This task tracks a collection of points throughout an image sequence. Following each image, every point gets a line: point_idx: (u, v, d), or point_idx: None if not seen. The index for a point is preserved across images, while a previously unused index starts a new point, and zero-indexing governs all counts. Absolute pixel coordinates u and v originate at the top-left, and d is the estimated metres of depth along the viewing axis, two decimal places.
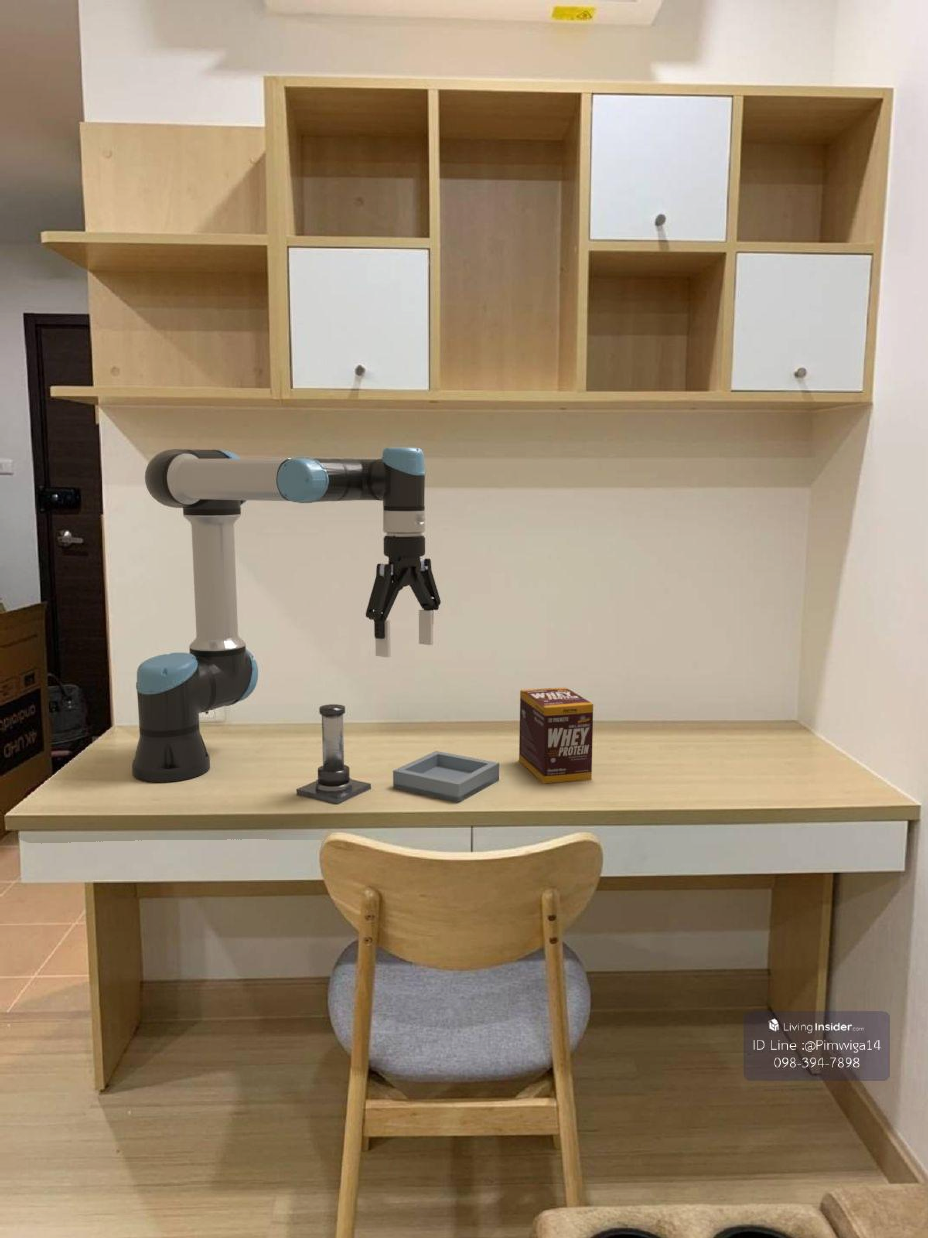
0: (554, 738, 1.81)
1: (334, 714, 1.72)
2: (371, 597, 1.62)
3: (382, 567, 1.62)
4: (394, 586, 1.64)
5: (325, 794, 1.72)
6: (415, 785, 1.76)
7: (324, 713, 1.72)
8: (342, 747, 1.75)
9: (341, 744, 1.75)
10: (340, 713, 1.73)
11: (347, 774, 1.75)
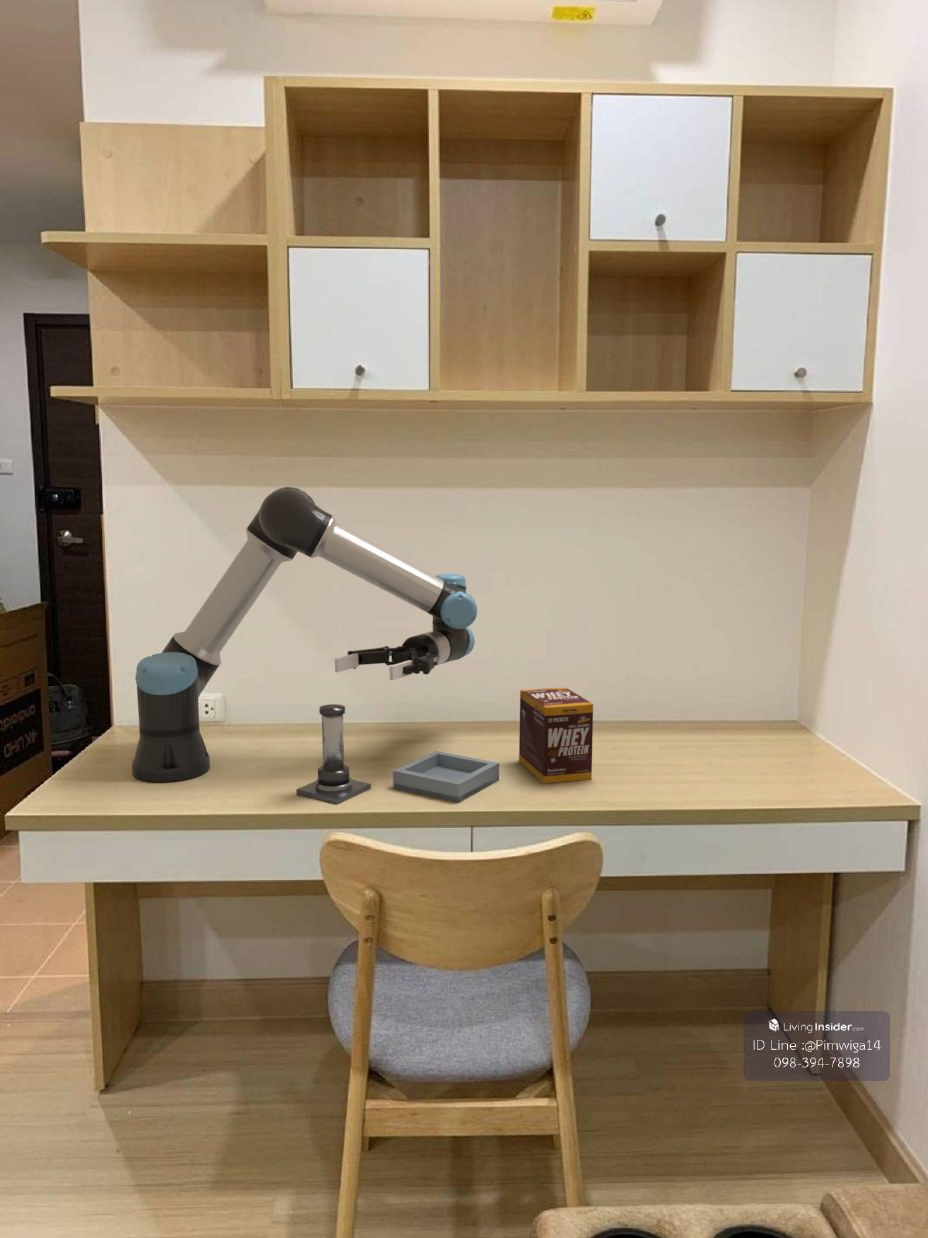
0: (554, 738, 1.81)
1: (334, 714, 1.72)
2: (430, 660, 1.86)
3: (437, 659, 1.91)
4: None
5: (325, 794, 1.72)
6: (415, 785, 1.76)
7: (324, 713, 1.72)
8: (342, 747, 1.75)
9: (341, 744, 1.75)
10: (340, 713, 1.73)
11: (347, 774, 1.75)
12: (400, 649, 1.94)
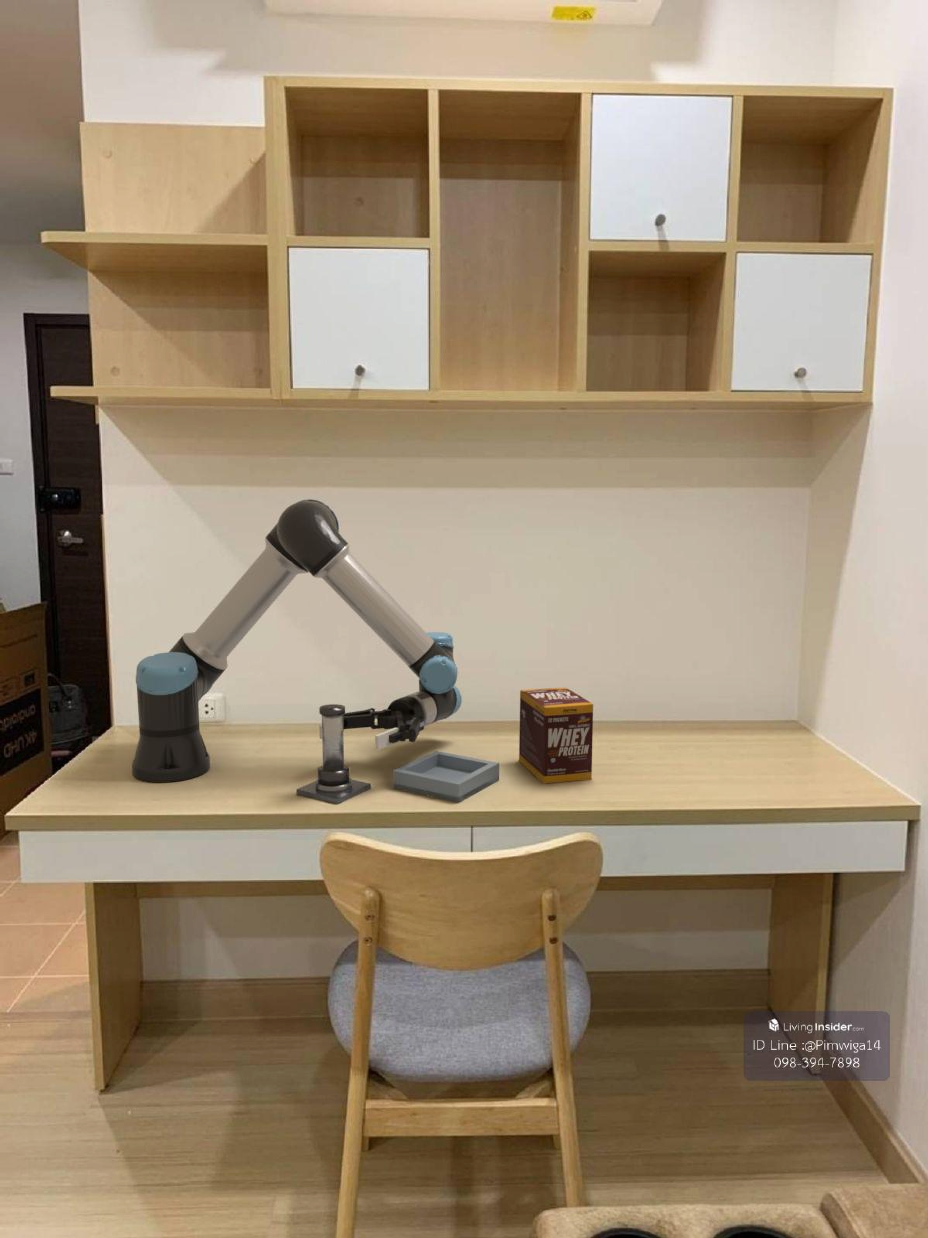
0: (554, 738, 1.81)
1: (334, 714, 1.72)
2: (417, 726, 1.83)
3: (423, 723, 1.88)
4: None
5: (325, 794, 1.72)
6: (415, 785, 1.76)
7: (324, 713, 1.72)
8: (342, 747, 1.75)
9: (341, 744, 1.75)
10: (340, 713, 1.73)
11: (347, 774, 1.75)
12: (386, 713, 1.91)
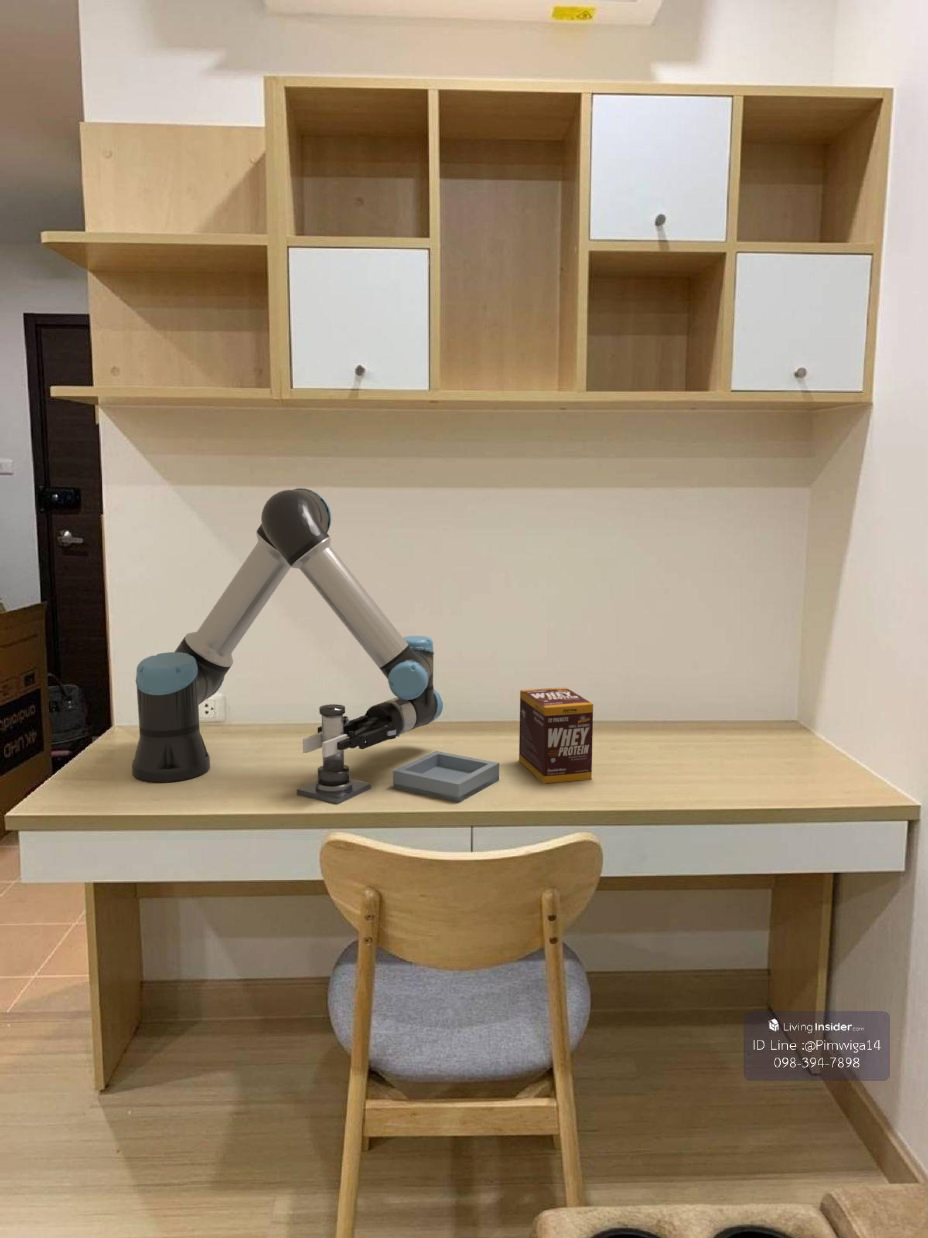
0: (554, 738, 1.81)
1: (334, 714, 1.72)
2: (374, 734, 1.77)
3: (394, 733, 1.81)
4: None
5: (325, 794, 1.72)
6: (415, 785, 1.76)
7: (324, 713, 1.72)
8: None
9: None
10: (340, 713, 1.73)
11: (347, 774, 1.75)
12: (365, 719, 1.85)
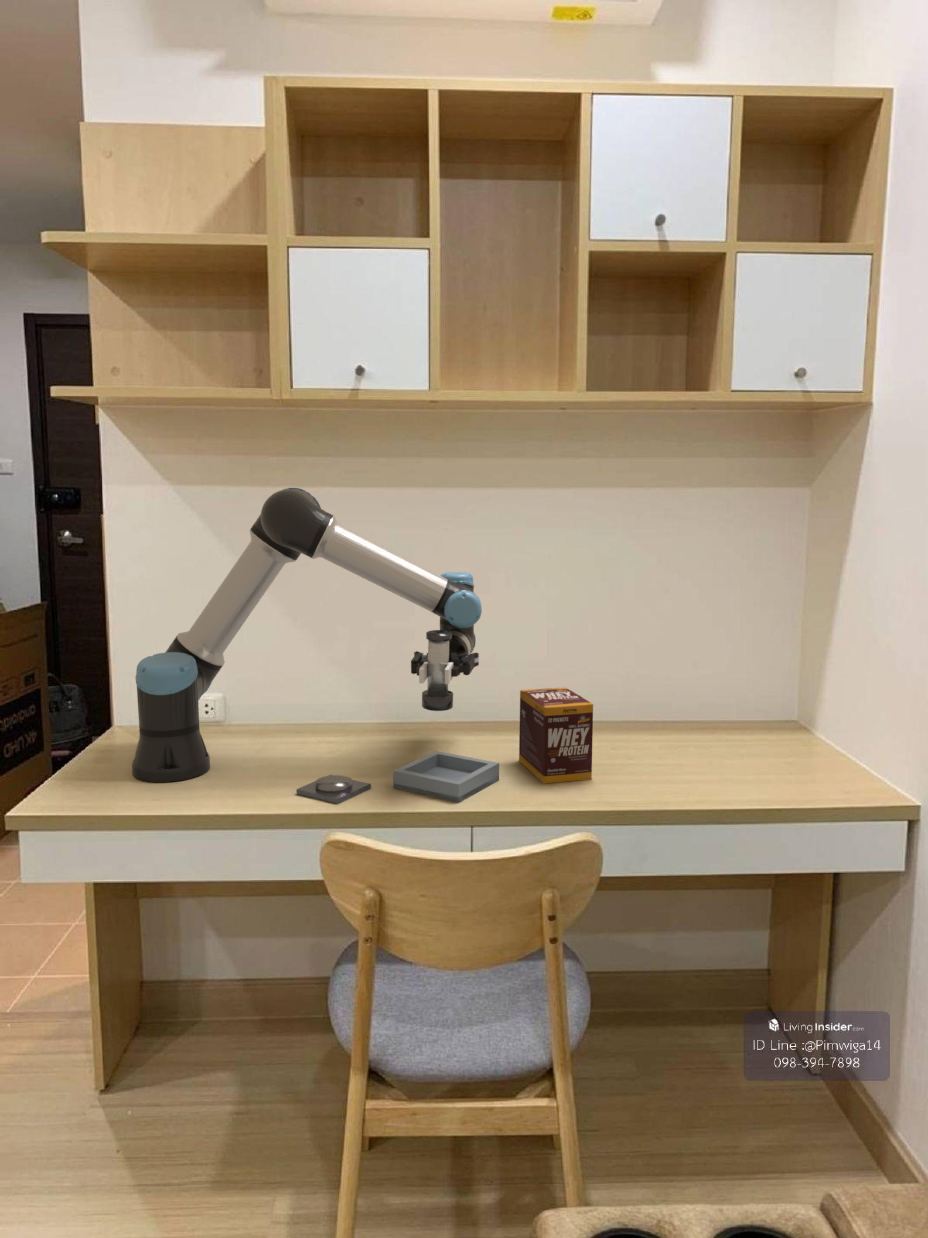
0: (554, 738, 1.81)
1: (444, 639, 1.74)
2: (471, 660, 1.82)
3: (478, 659, 1.87)
4: None
5: (325, 794, 1.72)
6: (415, 785, 1.76)
7: (434, 639, 1.73)
8: None
9: None
10: (449, 638, 1.74)
11: (452, 699, 1.78)
12: None
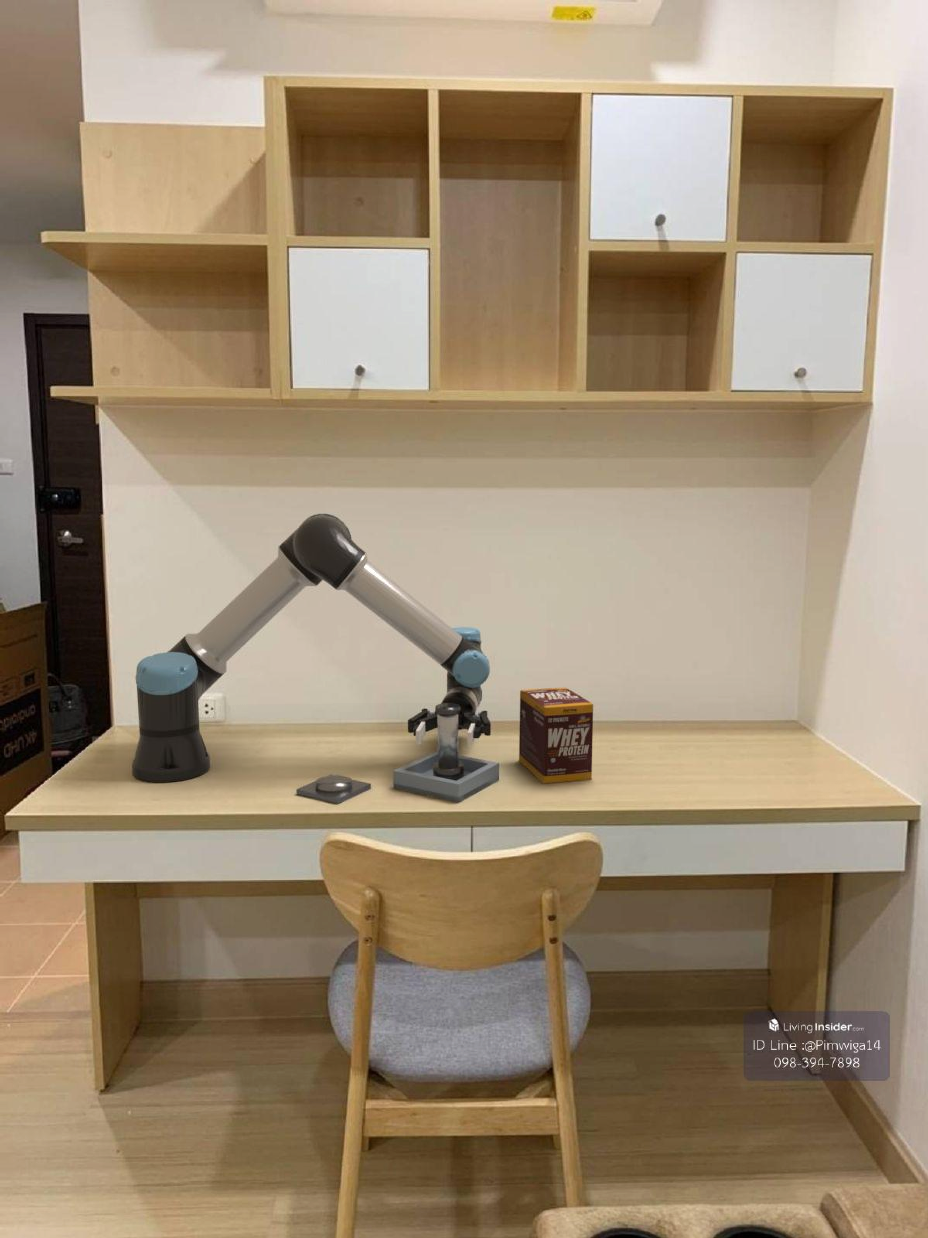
0: (554, 738, 1.81)
1: (453, 714, 1.76)
2: (488, 720, 1.85)
3: None
4: None
5: (325, 794, 1.72)
6: (415, 785, 1.76)
7: (443, 713, 1.76)
8: None
9: (457, 742, 1.79)
10: (457, 712, 1.77)
11: (463, 770, 1.81)
12: None
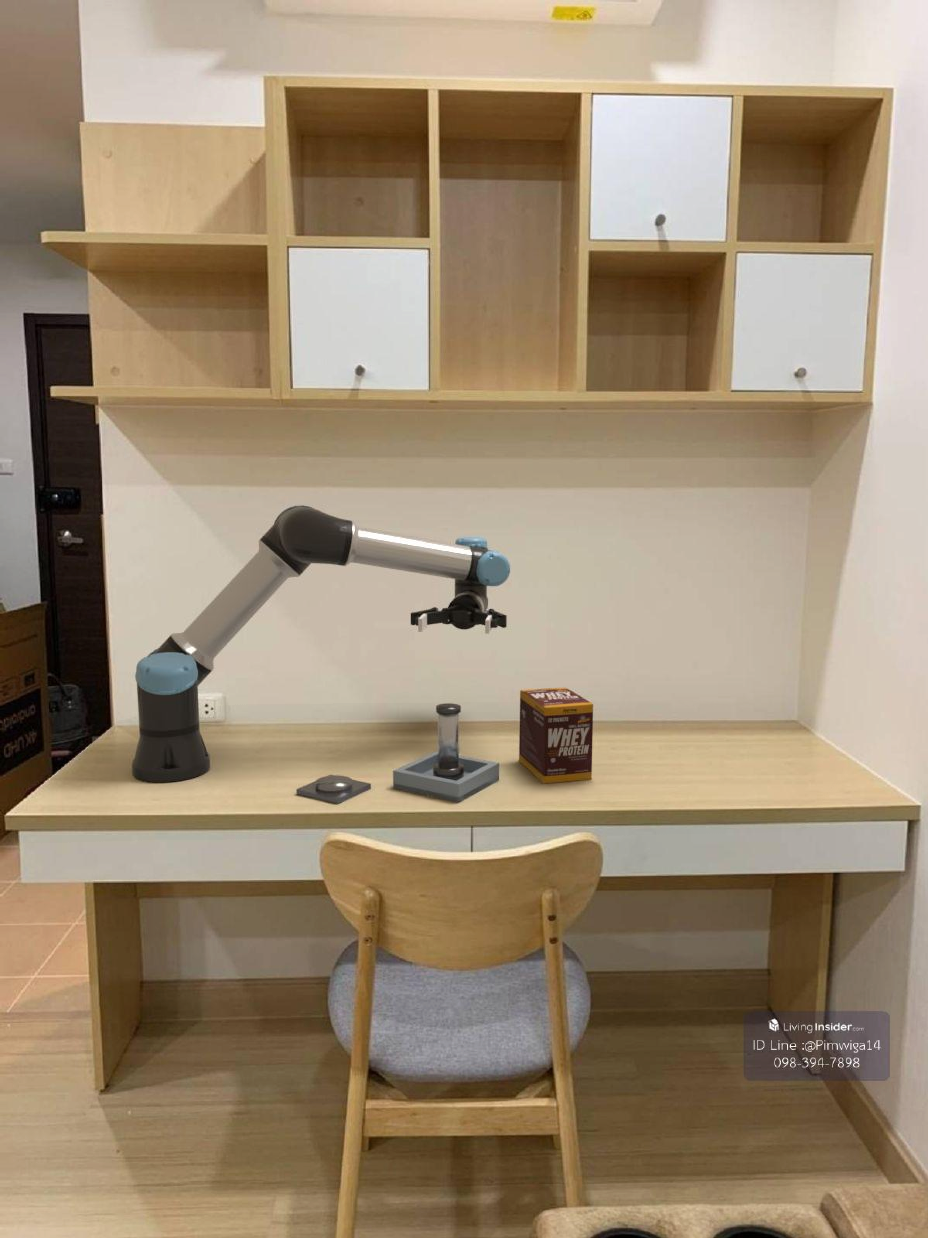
0: (554, 738, 1.81)
1: (453, 713, 1.77)
2: (501, 614, 1.96)
3: None
4: None
5: (325, 794, 1.72)
6: (415, 785, 1.76)
7: (443, 712, 1.77)
8: (458, 744, 1.80)
9: (457, 742, 1.80)
10: (458, 711, 1.78)
11: (463, 771, 1.81)
12: (456, 608, 2.00)
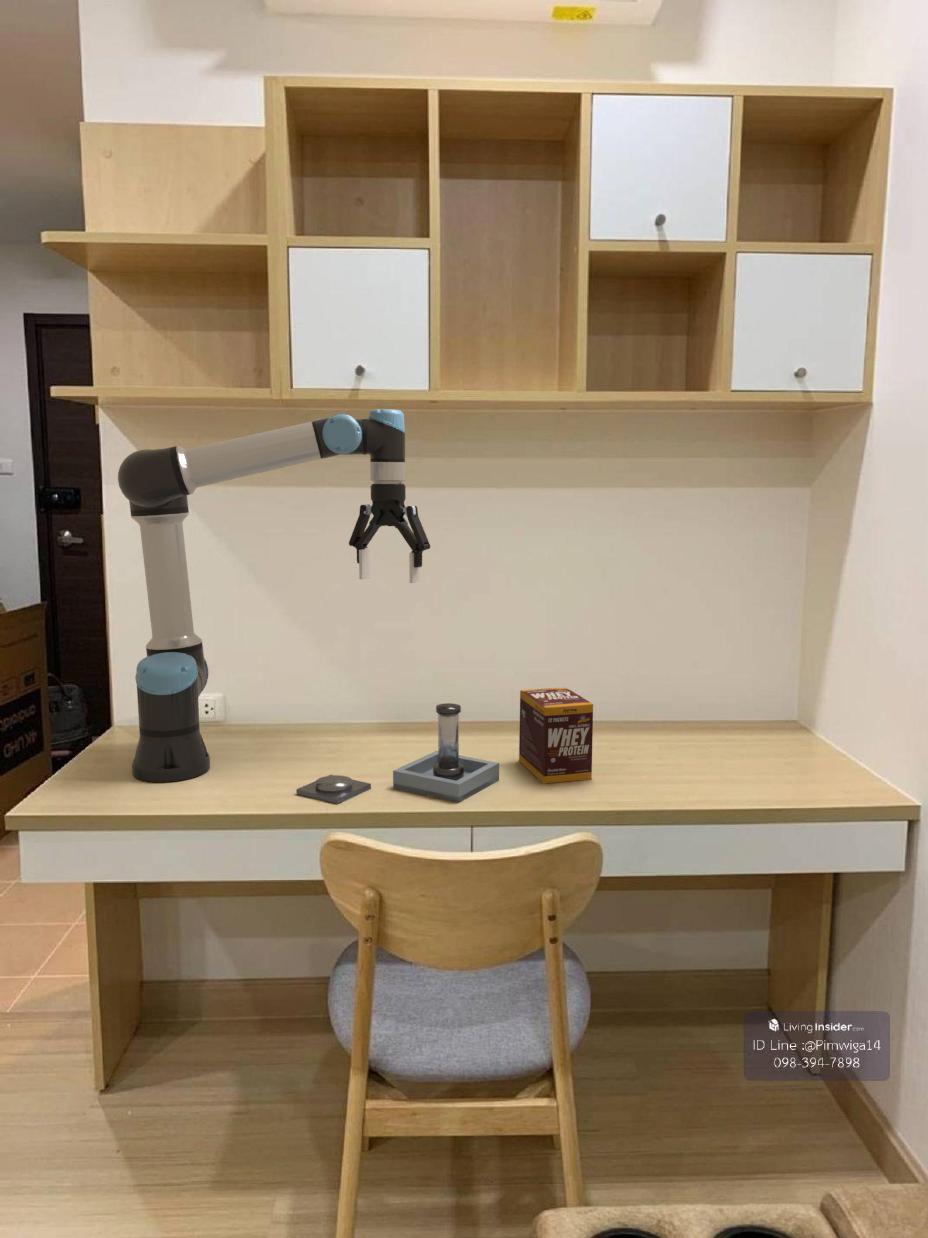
0: (554, 738, 1.81)
1: (453, 713, 1.77)
2: (419, 533, 1.96)
3: (414, 508, 1.97)
4: (406, 524, 2.00)
5: (325, 794, 1.72)
6: (415, 785, 1.76)
7: (443, 712, 1.77)
8: (458, 744, 1.80)
9: (457, 742, 1.80)
10: (458, 711, 1.78)
11: (463, 771, 1.81)
12: (379, 516, 2.00)
